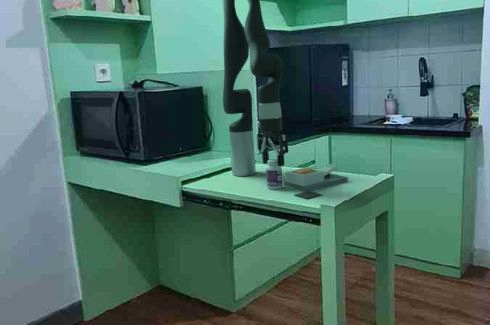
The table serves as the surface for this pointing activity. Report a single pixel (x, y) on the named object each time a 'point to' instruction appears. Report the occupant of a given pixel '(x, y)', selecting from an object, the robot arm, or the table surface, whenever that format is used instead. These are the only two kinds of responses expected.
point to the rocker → (329, 169)
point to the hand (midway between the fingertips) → (273, 164)
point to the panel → (312, 180)
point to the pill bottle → (274, 175)
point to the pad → (308, 195)
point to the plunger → (304, 171)
